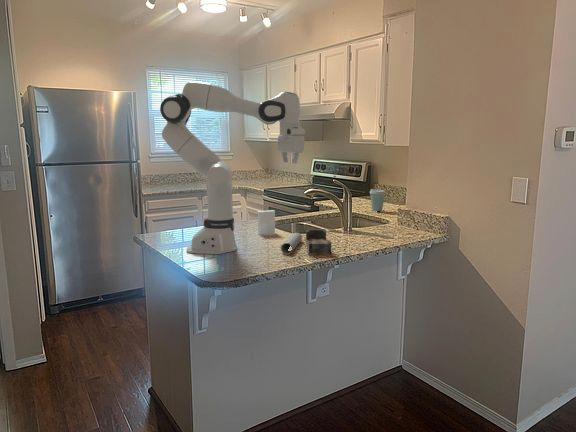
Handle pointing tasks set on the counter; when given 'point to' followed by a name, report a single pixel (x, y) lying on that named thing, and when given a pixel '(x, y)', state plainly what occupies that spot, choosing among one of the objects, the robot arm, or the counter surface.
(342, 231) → the counter surface
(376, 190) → the disposable coffee cup
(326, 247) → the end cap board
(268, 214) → the white upright block
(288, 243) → the tube
